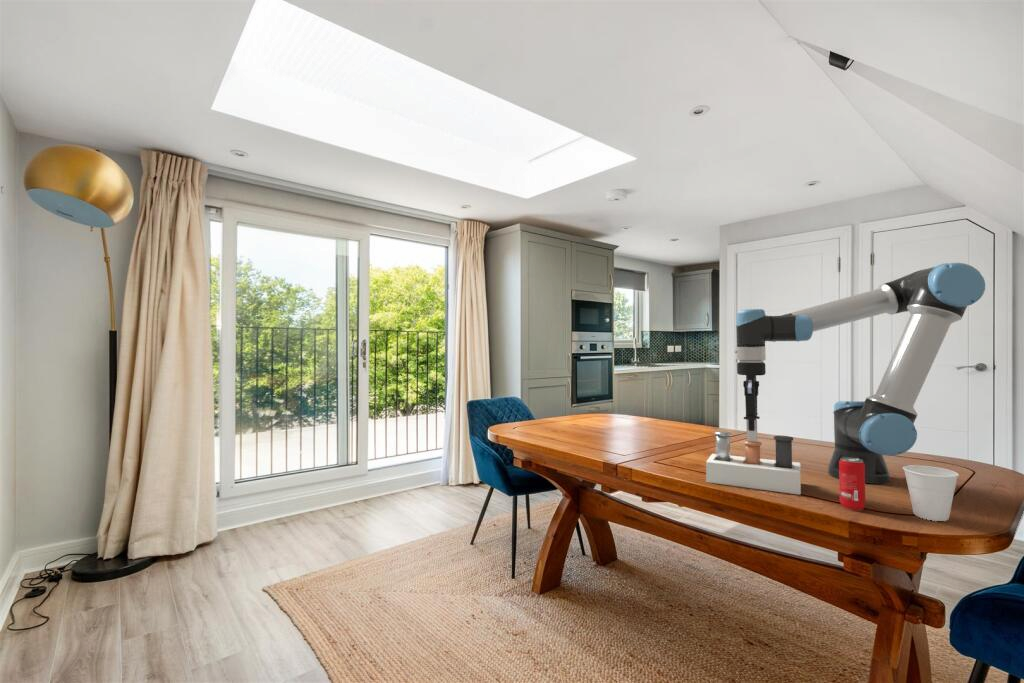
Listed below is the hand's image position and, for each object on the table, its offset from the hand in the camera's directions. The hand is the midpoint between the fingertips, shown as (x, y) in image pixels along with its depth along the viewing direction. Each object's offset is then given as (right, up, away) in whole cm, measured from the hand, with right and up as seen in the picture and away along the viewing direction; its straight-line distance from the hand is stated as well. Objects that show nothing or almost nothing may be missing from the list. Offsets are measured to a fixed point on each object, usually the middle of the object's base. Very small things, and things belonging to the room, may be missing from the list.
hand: (752, 441), depth 138 cm
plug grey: (-7, -8, +4) cm, 11 cm away
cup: (+27, -12, -28) cm, 41 cm away
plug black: (+7, -8, -4) cm, 11 cm away
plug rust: (0, -10, 0) cm, 10 cm away
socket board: (0, -12, 0) cm, 12 cm away
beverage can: (+14, -12, -21) cm, 28 cm away
